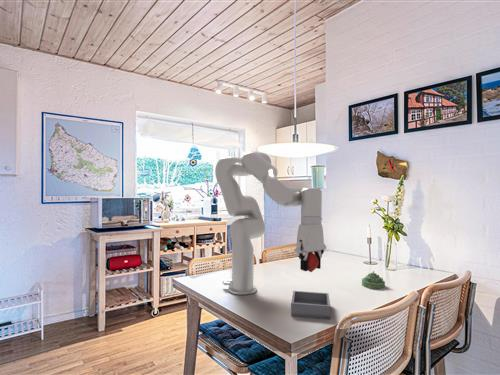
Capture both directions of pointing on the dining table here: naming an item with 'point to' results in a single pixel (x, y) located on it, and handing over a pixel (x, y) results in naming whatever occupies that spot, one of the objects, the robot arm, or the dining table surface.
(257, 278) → the dining table surface
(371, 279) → the decorative artifact
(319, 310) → the tray
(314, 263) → the onion
